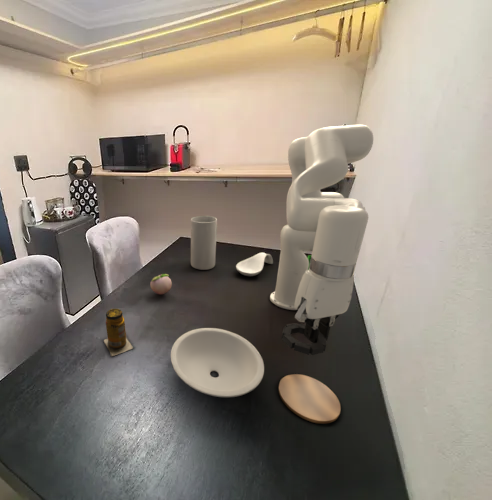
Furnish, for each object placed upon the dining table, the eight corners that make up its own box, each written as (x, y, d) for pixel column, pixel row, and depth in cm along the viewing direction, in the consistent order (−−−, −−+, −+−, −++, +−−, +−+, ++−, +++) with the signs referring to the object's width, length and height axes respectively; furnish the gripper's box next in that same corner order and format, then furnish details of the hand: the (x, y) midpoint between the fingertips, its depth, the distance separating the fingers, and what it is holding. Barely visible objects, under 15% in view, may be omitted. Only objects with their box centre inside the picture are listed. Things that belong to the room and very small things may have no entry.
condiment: (123, 333, 92) (120, 304, 87) (133, 348, 84) (130, 317, 80) (103, 340, 89) (99, 310, 84) (112, 357, 82) (107, 325, 77)
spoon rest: (252, 282, 119) (254, 267, 116) (230, 273, 128) (231, 260, 125) (279, 266, 132) (281, 253, 129) (257, 259, 141) (258, 247, 138)
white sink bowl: (251, 435, 58) (254, 414, 55) (155, 389, 70) (154, 370, 67) (268, 361, 76) (270, 343, 74) (190, 335, 88) (190, 319, 86)
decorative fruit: (161, 302, 108) (160, 281, 104) (147, 295, 114) (146, 274, 110) (176, 293, 114) (176, 273, 110) (162, 287, 120) (162, 267, 116)
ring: (304, 326, 65) (305, 321, 64) (334, 350, 57) (336, 344, 56) (274, 332, 63) (275, 327, 63) (300, 357, 56) (301, 352, 55)
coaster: (310, 372, 72) (310, 369, 72) (354, 416, 60) (355, 414, 60) (267, 381, 70) (267, 379, 70) (304, 429, 58) (304, 427, 58)
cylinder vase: (217, 269, 132) (220, 222, 123) (192, 271, 133) (193, 223, 123) (211, 259, 144) (213, 215, 135) (188, 260, 144) (189, 216, 135)
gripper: (347, 254, 59) (330, 322, 65) (284, 264, 56) (273, 334, 63) (382, 268, 52) (359, 342, 59) (312, 281, 49) (296, 356, 56)
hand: (314, 337), depth 61 cm, fingers closed on ring, 2 cm apart
